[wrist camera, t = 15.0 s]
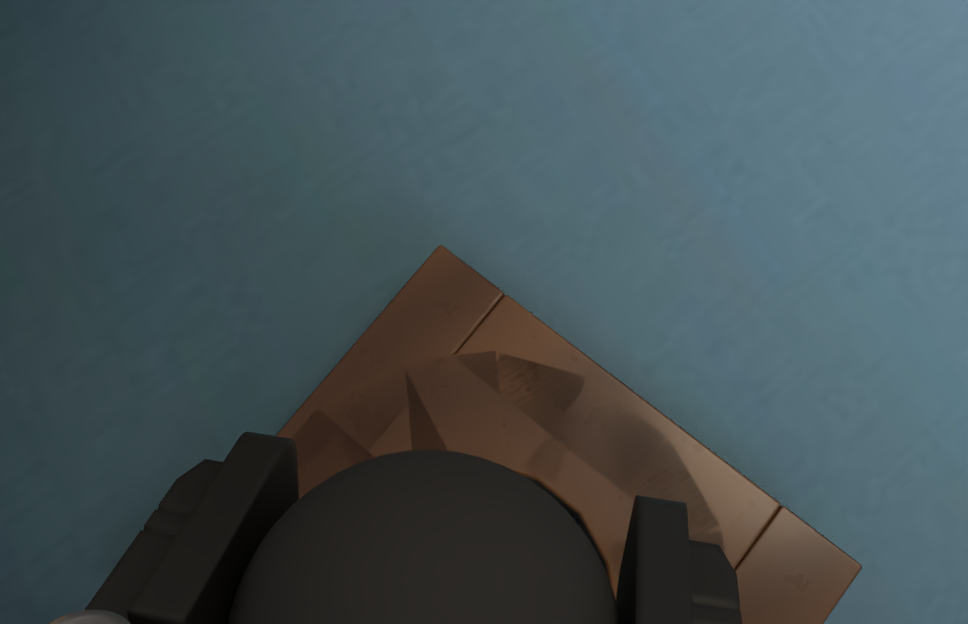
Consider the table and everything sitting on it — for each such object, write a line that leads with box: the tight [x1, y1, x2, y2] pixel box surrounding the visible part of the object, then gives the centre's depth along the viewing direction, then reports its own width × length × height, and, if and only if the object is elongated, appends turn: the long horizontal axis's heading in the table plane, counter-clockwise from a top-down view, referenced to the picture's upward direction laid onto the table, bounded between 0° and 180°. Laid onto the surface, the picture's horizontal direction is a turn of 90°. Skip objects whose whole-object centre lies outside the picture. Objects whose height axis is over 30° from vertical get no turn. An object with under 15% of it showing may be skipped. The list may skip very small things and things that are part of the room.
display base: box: [276, 245, 862, 624], centre depth 20 cm, size 12×12×2 cm
